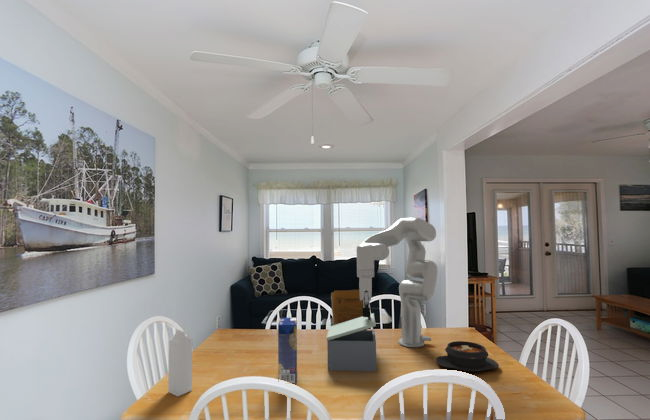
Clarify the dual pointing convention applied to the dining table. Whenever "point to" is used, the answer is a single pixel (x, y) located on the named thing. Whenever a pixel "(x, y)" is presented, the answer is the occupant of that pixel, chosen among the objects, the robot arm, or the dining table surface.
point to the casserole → (466, 357)
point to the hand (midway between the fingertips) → (366, 314)
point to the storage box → (353, 352)
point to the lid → (351, 326)
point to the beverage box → (287, 349)
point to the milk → (180, 364)
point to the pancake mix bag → (346, 305)
